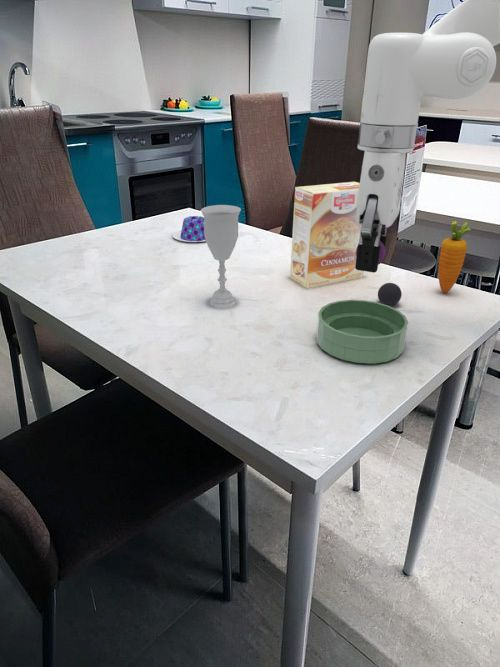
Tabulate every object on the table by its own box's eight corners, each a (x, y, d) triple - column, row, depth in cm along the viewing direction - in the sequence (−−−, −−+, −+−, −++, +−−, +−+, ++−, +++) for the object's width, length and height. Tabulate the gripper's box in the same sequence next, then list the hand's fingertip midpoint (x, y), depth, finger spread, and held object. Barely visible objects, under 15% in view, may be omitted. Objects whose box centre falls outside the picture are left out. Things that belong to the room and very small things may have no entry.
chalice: (224, 293, 101) (223, 203, 93) (248, 303, 97) (249, 209, 89) (196, 303, 97) (192, 209, 89) (220, 314, 93) (218, 216, 84)
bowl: (360, 319, 91) (363, 293, 89) (421, 351, 81) (427, 323, 79) (299, 337, 85) (300, 311, 82) (357, 376, 74) (360, 346, 72)
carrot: (451, 289, 105) (467, 217, 98) (461, 298, 100) (478, 224, 93) (428, 289, 105) (441, 217, 98) (436, 298, 100) (451, 224, 93)
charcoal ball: (387, 298, 100) (390, 277, 98) (404, 306, 97) (408, 285, 95) (371, 303, 98) (374, 282, 96) (388, 311, 95) (391, 289, 93)
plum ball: (369, 259, 80) (372, 232, 78) (389, 268, 77) (393, 240, 75) (348, 264, 78) (351, 236, 76) (368, 273, 75) (372, 244, 73)
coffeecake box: (306, 289, 104) (313, 193, 95) (288, 278, 109) (293, 186, 100) (364, 278, 110) (375, 186, 101) (344, 267, 115) (353, 180, 106)
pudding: (181, 230, 141) (180, 211, 139) (222, 233, 139) (222, 214, 137) (166, 242, 131) (165, 222, 128) (211, 246, 129) (210, 225, 126)
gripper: (406, 147, 61) (384, 288, 69) (421, 134, 74) (402, 253, 83) (344, 143, 63) (331, 279, 72) (370, 131, 77) (356, 246, 85)
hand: (369, 264), depth 77 cm, fingers closed on plum ball, 4 cm apart
